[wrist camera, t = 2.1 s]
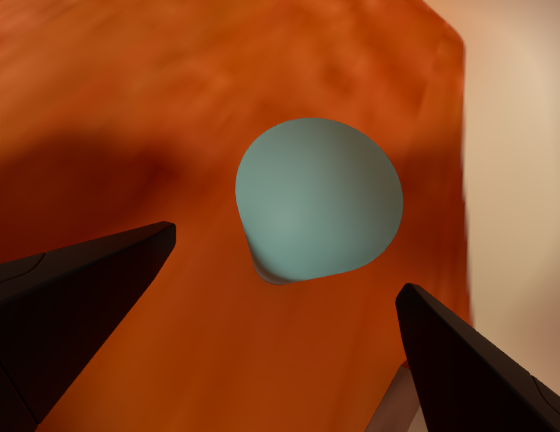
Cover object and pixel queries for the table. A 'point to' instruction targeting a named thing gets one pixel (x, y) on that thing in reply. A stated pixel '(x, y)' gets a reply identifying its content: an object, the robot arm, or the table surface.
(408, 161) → the table surface
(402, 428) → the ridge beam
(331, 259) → the rod
